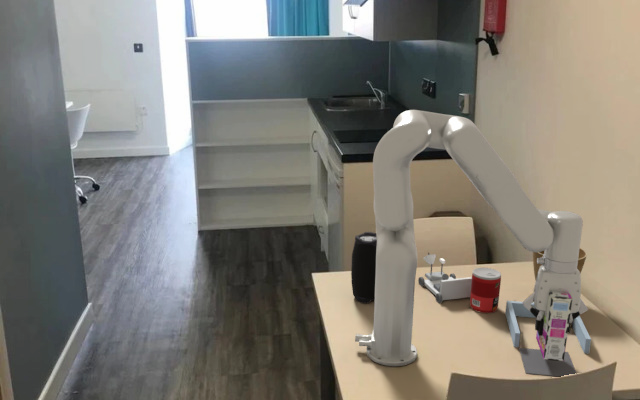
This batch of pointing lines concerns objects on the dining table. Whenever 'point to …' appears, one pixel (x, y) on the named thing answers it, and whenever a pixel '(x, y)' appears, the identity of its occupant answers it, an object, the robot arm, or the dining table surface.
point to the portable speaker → (364, 267)
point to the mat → (545, 364)
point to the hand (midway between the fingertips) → (551, 333)
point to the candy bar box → (555, 326)
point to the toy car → (445, 283)
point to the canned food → (485, 290)
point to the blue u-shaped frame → (519, 310)
